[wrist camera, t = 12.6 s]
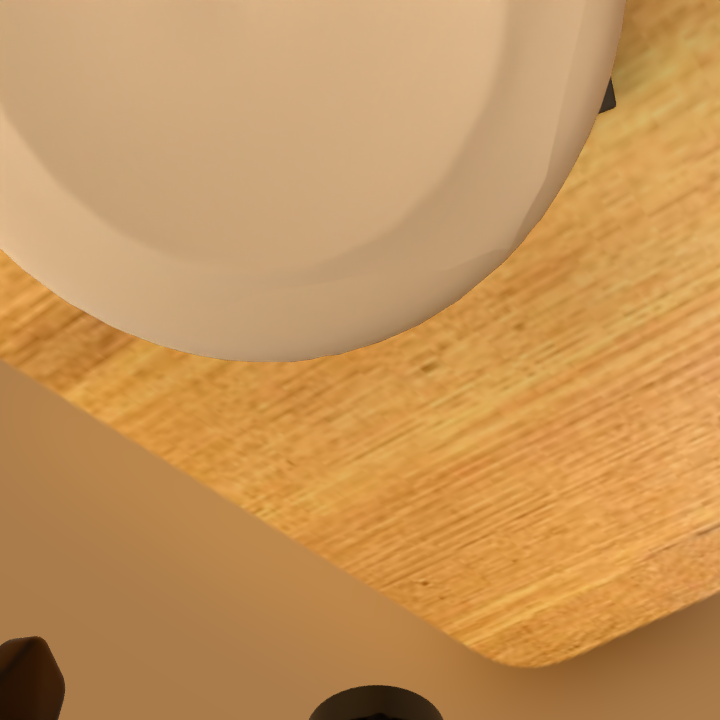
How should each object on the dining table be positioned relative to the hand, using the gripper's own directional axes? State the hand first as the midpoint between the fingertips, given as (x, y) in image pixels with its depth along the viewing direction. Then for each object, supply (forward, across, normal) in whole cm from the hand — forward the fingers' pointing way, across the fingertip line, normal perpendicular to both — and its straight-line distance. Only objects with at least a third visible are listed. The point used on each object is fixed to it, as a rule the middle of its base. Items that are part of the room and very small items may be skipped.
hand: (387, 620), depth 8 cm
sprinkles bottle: (+12, 0, -7) cm, 13 cm away
